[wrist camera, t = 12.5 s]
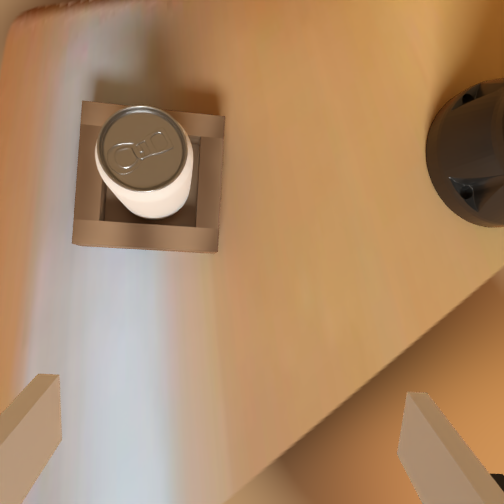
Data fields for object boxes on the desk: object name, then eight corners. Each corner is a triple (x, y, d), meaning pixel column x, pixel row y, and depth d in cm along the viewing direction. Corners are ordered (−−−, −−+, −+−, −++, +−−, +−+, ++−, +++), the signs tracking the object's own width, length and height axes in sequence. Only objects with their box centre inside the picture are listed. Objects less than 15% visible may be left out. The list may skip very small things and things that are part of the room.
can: (104, 169, 38) (70, 123, 26) (169, 138, 39) (164, 81, 27) (138, 233, 38) (120, 216, 26) (202, 201, 39) (212, 171, 28)
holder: (221, 129, 41) (224, 116, 38) (214, 253, 40) (217, 251, 37) (90, 115, 39) (82, 100, 36) (81, 246, 38) (71, 243, 35)
